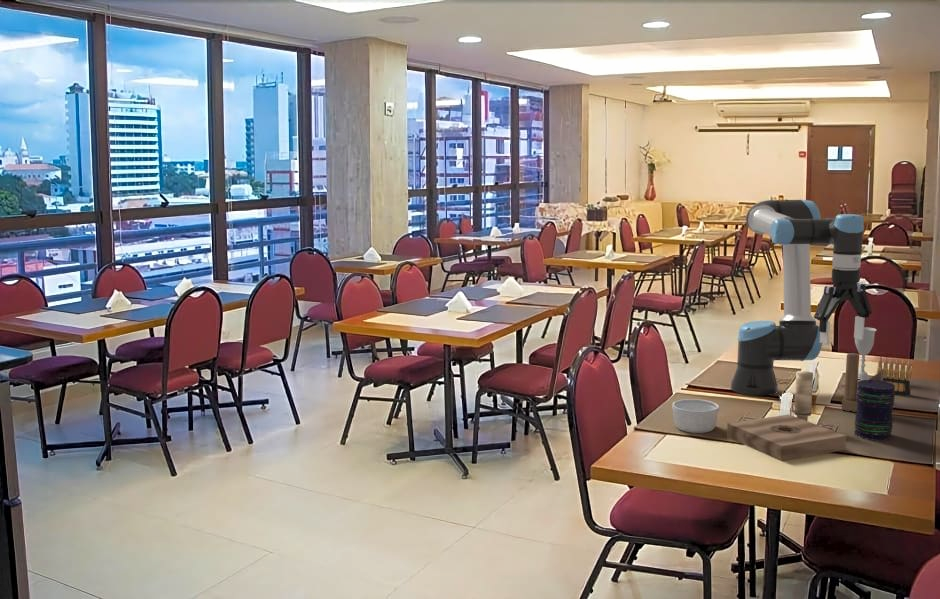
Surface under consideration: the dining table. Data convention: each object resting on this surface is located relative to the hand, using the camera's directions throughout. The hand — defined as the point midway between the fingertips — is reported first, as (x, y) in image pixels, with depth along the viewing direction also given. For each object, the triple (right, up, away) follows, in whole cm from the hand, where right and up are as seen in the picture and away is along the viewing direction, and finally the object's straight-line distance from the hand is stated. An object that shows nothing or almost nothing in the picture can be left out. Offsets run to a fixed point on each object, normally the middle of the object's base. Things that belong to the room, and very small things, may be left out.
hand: (841, 341), depth 262 cm
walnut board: (-21, -28, -12) cm, 37 cm away
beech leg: (-10, -25, +4) cm, 27 cm away
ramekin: (-42, -26, +3) cm, 49 cm away
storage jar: (+7, -27, -5) cm, 28 cm away
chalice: (+32, -16, +59) cm, 69 cm away
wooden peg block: (+13, -23, +18) cm, 32 cm away
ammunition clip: (+33, -19, +40) cm, 55 cm away
